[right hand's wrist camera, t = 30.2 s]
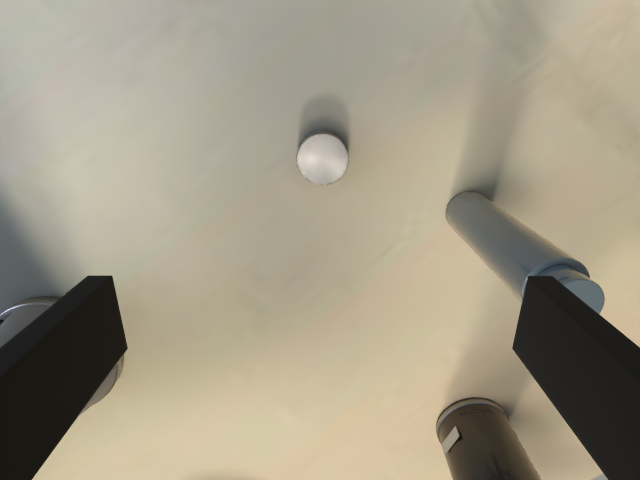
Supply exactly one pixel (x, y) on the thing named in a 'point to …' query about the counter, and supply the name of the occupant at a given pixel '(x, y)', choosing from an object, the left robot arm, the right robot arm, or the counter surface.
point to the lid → (322, 158)
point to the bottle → (517, 249)
